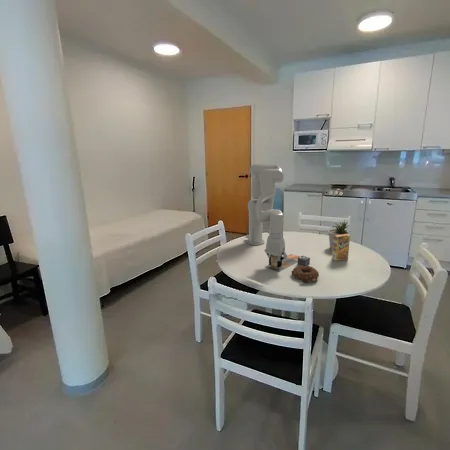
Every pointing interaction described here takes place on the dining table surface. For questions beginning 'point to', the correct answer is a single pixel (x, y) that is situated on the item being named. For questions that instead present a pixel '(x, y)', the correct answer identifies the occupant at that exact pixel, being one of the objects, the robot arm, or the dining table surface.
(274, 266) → the pawn
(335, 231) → the potted plant
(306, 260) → the die
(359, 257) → the dining table surface
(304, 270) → the donut
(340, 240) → the candy box
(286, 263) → the board
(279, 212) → the robot arm
